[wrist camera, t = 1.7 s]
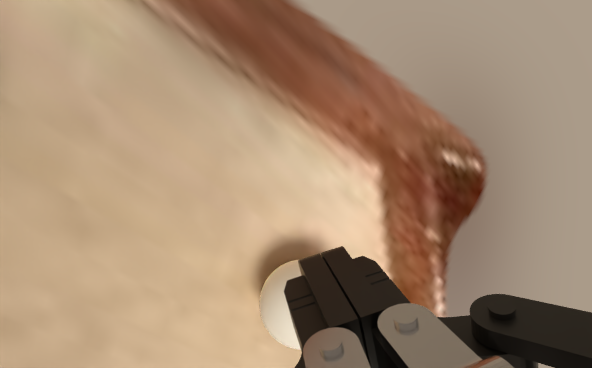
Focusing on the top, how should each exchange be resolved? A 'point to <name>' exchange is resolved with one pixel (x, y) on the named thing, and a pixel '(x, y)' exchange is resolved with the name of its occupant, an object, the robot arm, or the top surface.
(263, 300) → the ball
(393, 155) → the top surface
